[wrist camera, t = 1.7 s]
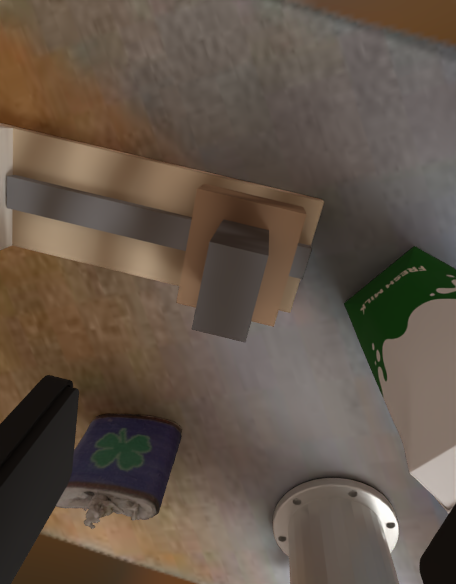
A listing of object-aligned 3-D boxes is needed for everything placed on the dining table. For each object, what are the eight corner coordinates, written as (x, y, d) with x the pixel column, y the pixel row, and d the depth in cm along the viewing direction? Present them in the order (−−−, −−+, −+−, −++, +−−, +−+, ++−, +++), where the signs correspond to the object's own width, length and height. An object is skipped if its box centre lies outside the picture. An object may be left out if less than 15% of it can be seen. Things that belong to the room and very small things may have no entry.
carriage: (303, 206, 27) (317, 236, 19) (273, 309, 30) (274, 374, 22) (204, 183, 27) (175, 202, 19) (185, 287, 30) (151, 344, 22)
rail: (321, 199, 29) (361, 244, 16) (289, 305, 33) (300, 413, 20) (-48, 111, 30) (-293, 88, 17) (-43, 225, 33) (-244, 278, 20)
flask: (94, 432, 40) (35, 528, 30) (91, 408, 39) (30, 500, 29) (182, 442, 39) (153, 543, 29) (183, 418, 38) (152, 515, 28)
